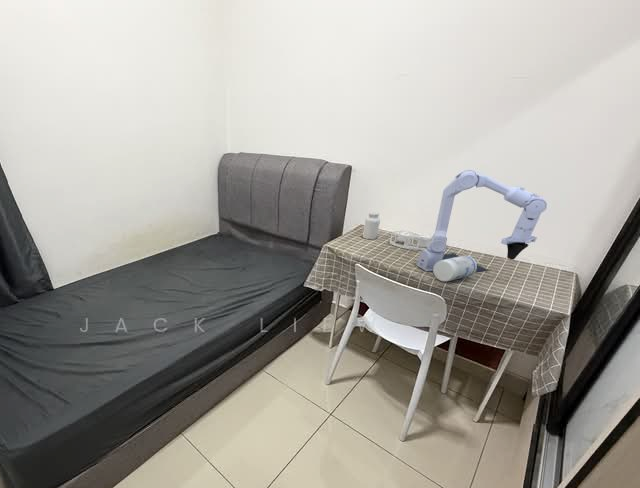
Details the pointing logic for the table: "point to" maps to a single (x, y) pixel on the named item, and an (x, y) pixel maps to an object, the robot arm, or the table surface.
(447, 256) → the desk mat
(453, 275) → the supplement tub
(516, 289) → the table surface
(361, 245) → the table surface
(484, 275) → the table surface
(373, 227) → the pill bottle
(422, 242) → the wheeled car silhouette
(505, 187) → the robot arm
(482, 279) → the table surface
